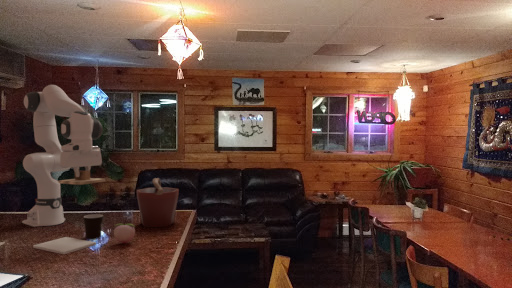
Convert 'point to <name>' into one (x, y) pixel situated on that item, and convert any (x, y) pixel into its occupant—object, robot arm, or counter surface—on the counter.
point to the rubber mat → (64, 245)
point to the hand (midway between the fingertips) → (82, 176)
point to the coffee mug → (93, 225)
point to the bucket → (157, 205)
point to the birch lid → (82, 179)
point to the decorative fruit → (124, 232)
